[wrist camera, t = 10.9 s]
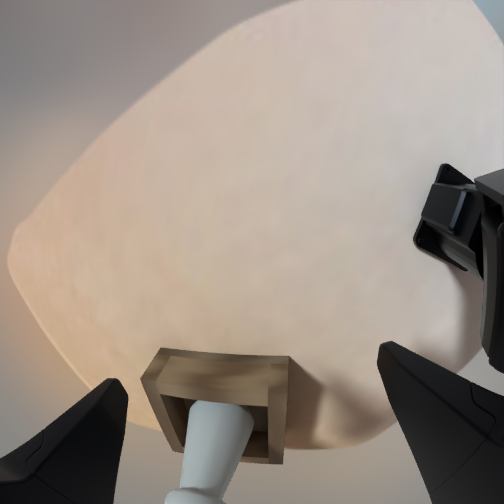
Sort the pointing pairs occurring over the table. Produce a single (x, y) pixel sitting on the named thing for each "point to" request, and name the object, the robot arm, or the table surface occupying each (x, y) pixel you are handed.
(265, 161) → the table surface
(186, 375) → the socket block
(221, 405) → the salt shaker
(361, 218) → the table surface
